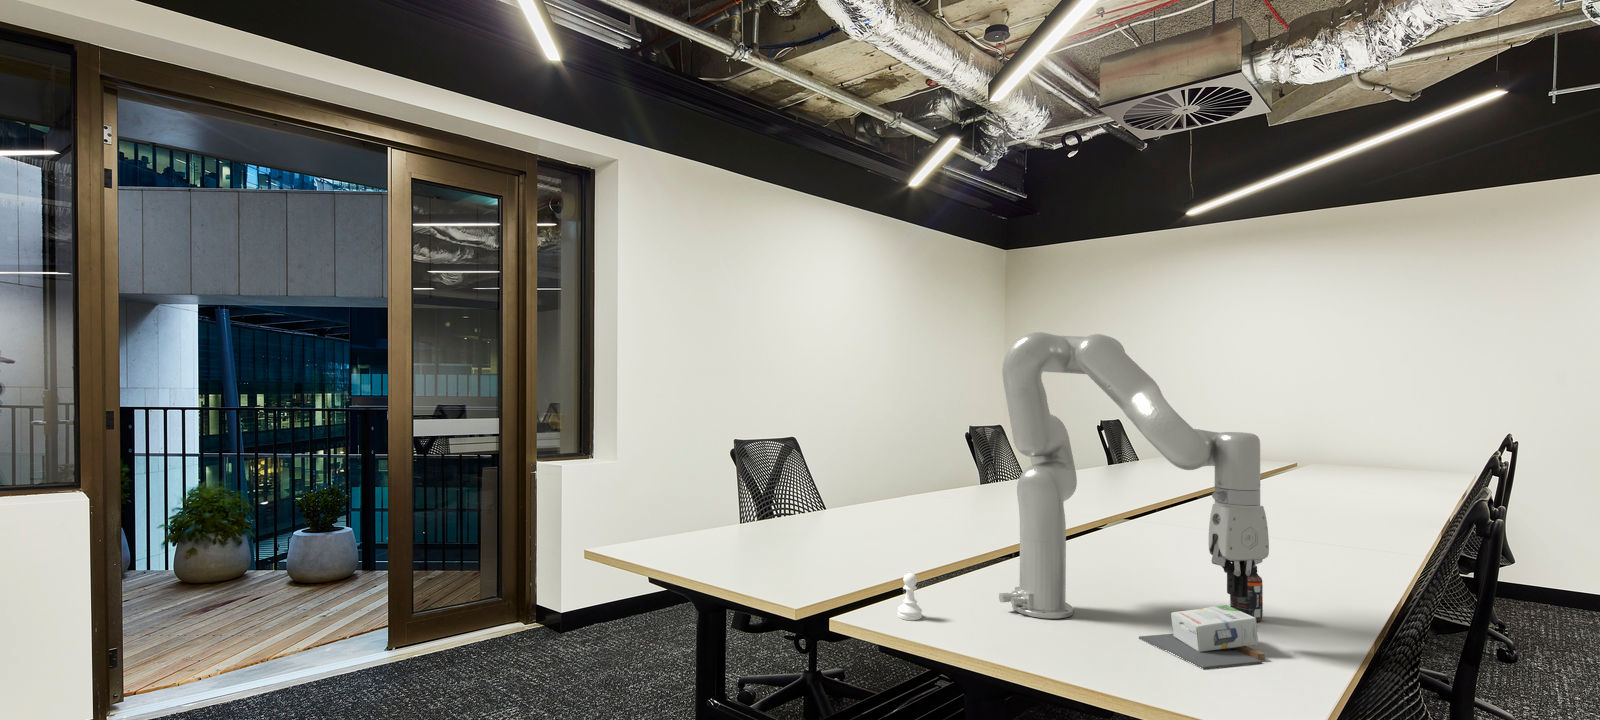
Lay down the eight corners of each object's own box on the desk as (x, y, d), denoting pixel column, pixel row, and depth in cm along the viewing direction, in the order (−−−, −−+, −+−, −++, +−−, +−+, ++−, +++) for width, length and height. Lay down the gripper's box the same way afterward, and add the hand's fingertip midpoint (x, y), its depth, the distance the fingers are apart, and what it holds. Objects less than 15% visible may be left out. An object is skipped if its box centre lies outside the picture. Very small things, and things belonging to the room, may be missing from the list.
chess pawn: (910, 611, 160) (911, 569, 161) (926, 618, 156) (927, 574, 156) (892, 615, 158) (893, 572, 158) (908, 622, 153) (909, 577, 154)
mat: (1203, 669, 130) (1203, 666, 130) (1138, 638, 146) (1138, 636, 146) (1261, 663, 134) (1261, 661, 134) (1192, 633, 149) (1192, 631, 149)
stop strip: (1258, 661, 135) (1258, 654, 135) (1197, 635, 148) (1197, 629, 148) (1264, 660, 135) (1264, 653, 135) (1203, 635, 148) (1203, 628, 149)
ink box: (1257, 617, 138) (1196, 624, 137) (1259, 646, 138) (1199, 652, 137) (1226, 603, 147) (1169, 609, 146) (1228, 630, 147) (1171, 636, 146)
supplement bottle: (1267, 623, 156) (1267, 568, 157) (1236, 621, 157) (1236, 567, 158) (1256, 615, 162) (1256, 562, 162) (1225, 613, 163) (1225, 560, 164)
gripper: (1220, 501, 137) (1220, 603, 137) (1286, 499, 141) (1286, 598, 141) (1189, 495, 144) (1189, 592, 144) (1252, 494, 148) (1252, 588, 148)
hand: (1237, 595), depth 142 cm, fingers closed
